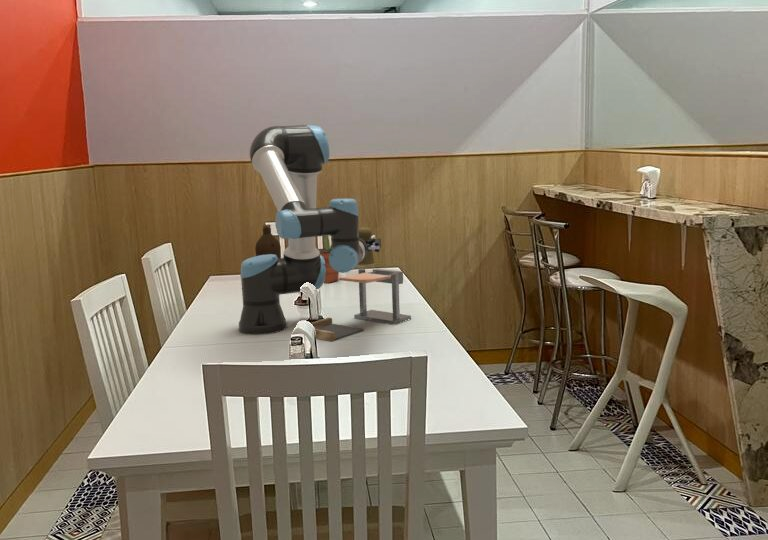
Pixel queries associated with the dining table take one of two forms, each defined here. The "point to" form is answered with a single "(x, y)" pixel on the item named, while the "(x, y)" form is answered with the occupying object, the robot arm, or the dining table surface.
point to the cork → (366, 239)
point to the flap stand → (380, 315)
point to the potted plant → (330, 272)
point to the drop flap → (374, 276)
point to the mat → (341, 330)
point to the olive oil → (268, 243)
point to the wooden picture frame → (322, 333)
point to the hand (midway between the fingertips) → (366, 239)
